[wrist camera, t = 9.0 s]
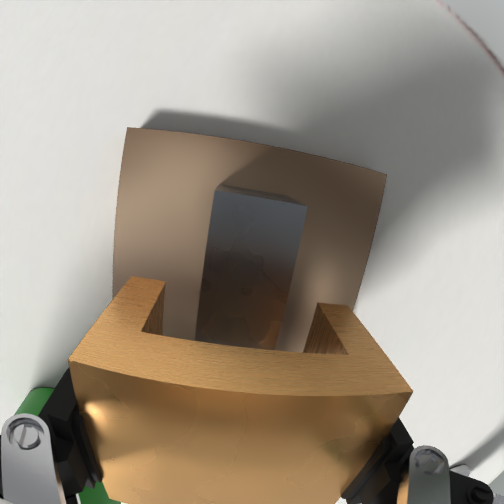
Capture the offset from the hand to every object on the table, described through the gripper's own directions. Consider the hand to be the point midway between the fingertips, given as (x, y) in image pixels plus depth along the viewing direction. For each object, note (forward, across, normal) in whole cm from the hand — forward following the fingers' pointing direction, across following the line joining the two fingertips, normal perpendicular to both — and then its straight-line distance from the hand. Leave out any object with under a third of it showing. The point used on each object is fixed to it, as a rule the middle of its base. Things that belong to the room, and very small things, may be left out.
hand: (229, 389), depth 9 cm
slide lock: (+1, 0, 0) cm, 1 cm away
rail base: (+7, 0, 0) cm, 7 cm away
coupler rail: (+5, 0, 0) cm, 5 cm away
